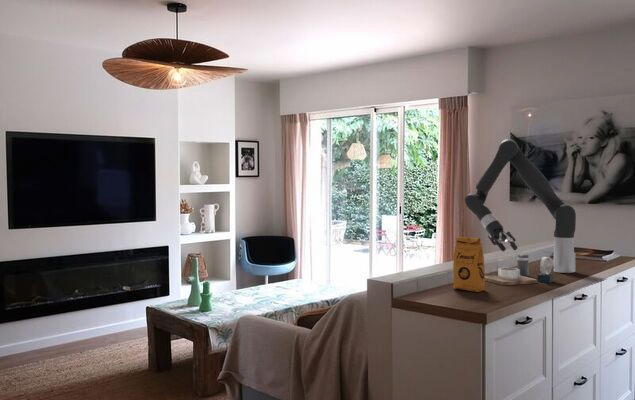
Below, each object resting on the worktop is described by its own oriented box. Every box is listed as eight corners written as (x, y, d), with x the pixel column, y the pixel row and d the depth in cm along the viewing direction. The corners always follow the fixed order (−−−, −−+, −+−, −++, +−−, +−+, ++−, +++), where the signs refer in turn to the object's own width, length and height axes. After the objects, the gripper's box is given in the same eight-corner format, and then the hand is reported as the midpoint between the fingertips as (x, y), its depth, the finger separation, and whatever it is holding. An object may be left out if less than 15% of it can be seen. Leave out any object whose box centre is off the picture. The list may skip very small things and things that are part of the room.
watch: (555, 280, 259) (555, 256, 258) (548, 283, 253) (548, 258, 253) (542, 279, 263) (543, 255, 262) (535, 281, 257) (535, 257, 256)
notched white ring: (511, 275, 264) (511, 267, 264) (523, 279, 255) (523, 270, 255) (494, 276, 261) (494, 268, 261) (506, 280, 253) (506, 271, 252)
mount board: (514, 277, 269) (514, 274, 269) (537, 283, 253) (537, 279, 253) (481, 279, 263) (481, 276, 263) (502, 285, 248) (502, 282, 248)
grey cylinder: (523, 274, 276) (524, 254, 275) (530, 276, 271) (530, 255, 270) (514, 275, 274) (514, 254, 274) (521, 277, 269) (521, 255, 269)
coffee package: (476, 293, 230) (476, 239, 230) (449, 289, 239) (450, 237, 239) (489, 290, 237) (489, 237, 237) (462, 286, 246) (462, 235, 246)
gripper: (486, 220, 281) (505, 245, 272) (505, 219, 289) (524, 244, 280) (477, 230, 286) (496, 255, 277) (497, 229, 293) (515, 253, 284)
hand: (510, 249), depth 278 cm, fingers open, 8 cm apart
